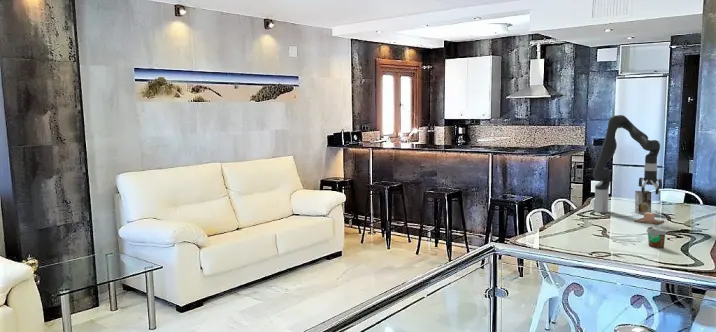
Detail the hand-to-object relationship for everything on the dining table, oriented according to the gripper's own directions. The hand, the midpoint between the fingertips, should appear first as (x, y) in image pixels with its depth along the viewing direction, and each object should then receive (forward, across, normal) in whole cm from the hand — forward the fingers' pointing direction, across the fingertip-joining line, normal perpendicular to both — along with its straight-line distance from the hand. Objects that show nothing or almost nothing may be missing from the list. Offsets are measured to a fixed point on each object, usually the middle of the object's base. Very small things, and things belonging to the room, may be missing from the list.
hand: (650, 193), depth 361 cm
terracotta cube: (+18, 0, 0) cm, 19 cm away
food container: (+19, +28, -63) cm, 72 cm away
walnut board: (+20, 0, 0) cm, 20 cm away
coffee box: (+20, -16, +28) cm, 38 cm away
